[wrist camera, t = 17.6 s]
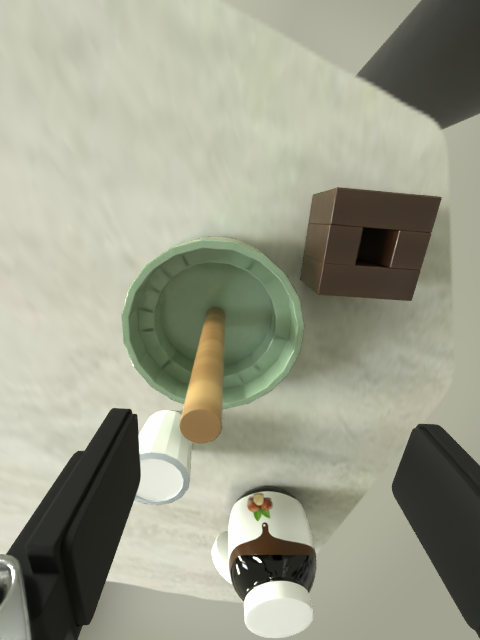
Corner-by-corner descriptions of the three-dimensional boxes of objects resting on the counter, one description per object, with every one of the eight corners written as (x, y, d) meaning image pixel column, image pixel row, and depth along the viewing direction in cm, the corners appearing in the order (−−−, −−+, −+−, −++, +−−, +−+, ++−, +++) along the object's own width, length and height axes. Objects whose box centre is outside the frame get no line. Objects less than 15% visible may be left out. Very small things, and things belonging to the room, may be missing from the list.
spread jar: (304, 484, 37) (336, 594, 26) (294, 541, 41) (317, 658, 30) (214, 483, 36) (208, 595, 26) (212, 541, 40) (206, 661, 29)
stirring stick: (206, 306, 28) (179, 408, 13) (226, 307, 28) (223, 410, 13) (205, 325, 28) (178, 443, 13) (225, 326, 28) (220, 444, 13)
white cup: (181, 397, 32) (169, 443, 25) (207, 440, 34) (201, 493, 27) (128, 417, 33) (103, 468, 26) (157, 458, 35) (140, 514, 28)
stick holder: (312, 194, 25) (336, 187, 20) (395, 202, 26) (442, 196, 20) (299, 279, 28) (317, 294, 22) (375, 285, 28) (411, 301, 23)
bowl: (138, 230, 26) (115, 232, 20) (300, 243, 27) (317, 248, 21) (144, 374, 31) (127, 405, 26) (280, 381, 32) (290, 412, 26)
